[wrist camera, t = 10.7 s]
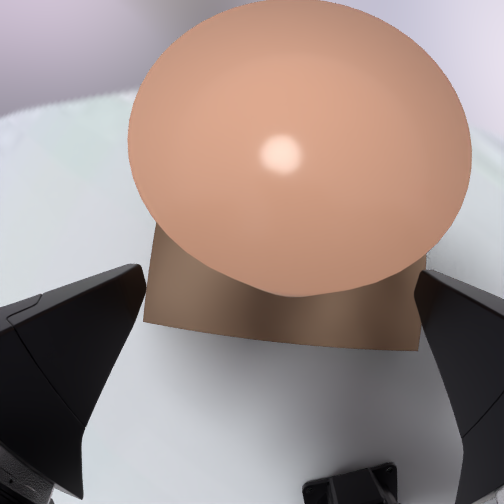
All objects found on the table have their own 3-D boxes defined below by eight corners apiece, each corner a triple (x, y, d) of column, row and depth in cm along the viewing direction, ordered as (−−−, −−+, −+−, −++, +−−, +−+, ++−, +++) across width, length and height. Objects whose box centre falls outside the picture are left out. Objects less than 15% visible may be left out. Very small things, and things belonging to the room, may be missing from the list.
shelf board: (413, 179, 19) (424, 168, 17) (405, 346, 18) (417, 351, 16) (181, 158, 21) (171, 145, 19) (155, 320, 20) (142, 321, 18)
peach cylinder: (367, 250, 17) (516, 145, 4) (284, 320, 17) (280, 382, 4) (297, 171, 18) (306, -26, 5) (216, 236, 18) (81, 109, 5)
